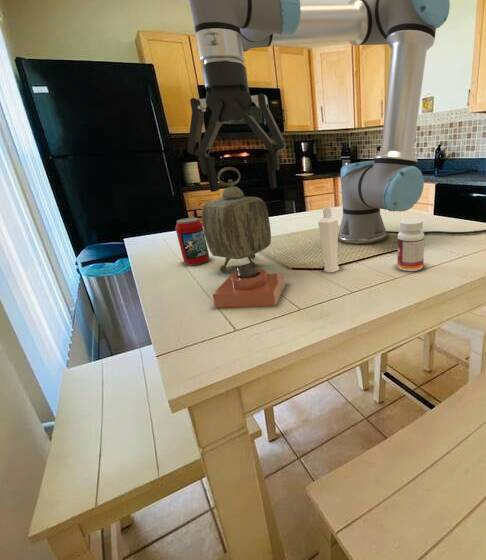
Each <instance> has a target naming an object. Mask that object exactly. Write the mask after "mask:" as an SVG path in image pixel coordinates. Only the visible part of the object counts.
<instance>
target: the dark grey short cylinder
mask: <svg viewBox="0 0 486 560" xmlns="http://www.w3.org/2000/svg"><path fill="white" fill-rule="evenodd" d="M258 268H259V267H258V264H256V263H255V264H249V263H244V264H241V265H239V266H237V268H236V269H237V271H236V272H238V276H239V278H252V277H255V276H257V275H259V273H258Z"/></svg>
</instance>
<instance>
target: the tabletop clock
mask: <svg viewBox="0 0 486 560" xmlns="http://www.w3.org/2000/svg"><path fill="white" fill-rule="evenodd" d="M225 171H234V172H235V173H237V175H238V178H237V179H236V180H235V181H233V179H231V178H229V179H228V181H227V182H223V181H222V179H221V175H222V173H224V172H225ZM241 177H242V176H241V173H240V171H239V169H238V168H236V167H234V166H227V167H223V168H221V169H220V170H219V171H218V173H217V180H218V183H219V184H221V185H222V186H224V187H225V188H224V189H223V191H222V193H221V194H222V195H221V197H219V198H215V199H212V200H209V201H207V202H206V203H204V204H203V205H202V206H201V223H202V226H203V230H204V235H205V239H206V244H207V248H208V251H209V252H210V253H211V255H212V257H219V258H225V260H224V263H223V265H221V266H220V267H219V271H220V272H221V273H224V272H227V270H228V269H227V265H228V263H229V262H230V260H231V259H233V260H243V259H246V258H247V260H248V261H249V262H248V264H256V263H255V261H253V260H255V258H257V257H256V254H258V253H260V252H262V251H263V250H265V249H267V248H268V247H269V246H270V245H271V243H272V232H271V223H270V218H269V212H268V208H267V205H266V202H265V201H264V200H263V199H262V198H260V197H258V196H245V194H244V192H243V190H242V189H240V188H239V187H237V186H236V185H237V184H238V183H239V182H240V180H241Z"/></svg>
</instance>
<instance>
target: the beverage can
mask: <svg viewBox="0 0 486 560" xmlns="http://www.w3.org/2000/svg"><path fill="white" fill-rule="evenodd" d="M175 232H176V236H177V240H178V244H179V248H180V252H181V256H182V259H183V262H184V263H185V264H188V265H189V266H190V265H191V266H195V265H196V266H197V265H201V264H204V263H206V262H207V261H208V260H209V259H210V254H209V247H208V245H207V241H206V238H205V235H204V230H203V223H202V221H200V220H199V217H187V218H181V219H178V220H176V224H175Z"/></svg>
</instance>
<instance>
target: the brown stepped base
mask: <svg viewBox="0 0 486 560" xmlns="http://www.w3.org/2000/svg"><path fill="white" fill-rule="evenodd" d="M258 273H259V275H257V276H255V277H252V278H239V276H238V271H236V272H233V273H232V274H231V275H229V276H228V277H227V278H226V279H225V280H224V281H223V282H222V283H221V285H220V286H219V287H218V288H217V289H215V291H214V292H213V293H212V298H213V303H214V307H215V309H225V308H226V309H228V308H252V307H253V308H254V307H255V308H256V307H275V306H276V305H277V303H278V301H279V299H280V297H281V295H282V293H283V291H284V289H285V287H286V281H285V280H286V279H285V274H284V273H283V272H282V273H280V272H279V273H267V271H266V270H265V269H264V268H259V267H258Z"/></svg>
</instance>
